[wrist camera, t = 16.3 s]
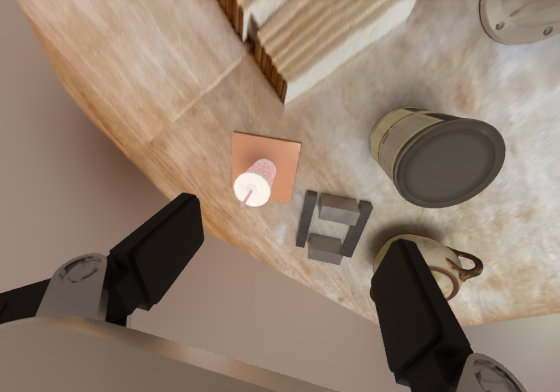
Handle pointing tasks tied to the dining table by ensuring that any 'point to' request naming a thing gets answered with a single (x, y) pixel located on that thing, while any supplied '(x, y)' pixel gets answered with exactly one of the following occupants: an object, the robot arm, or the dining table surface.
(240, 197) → the beverage cup
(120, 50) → the dining table surface
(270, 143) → the terracotta tile
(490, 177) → the coffee can
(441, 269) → the sugar bowl
